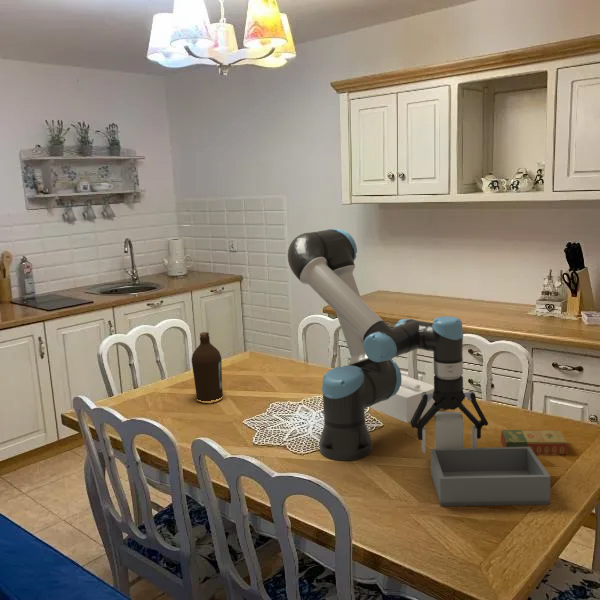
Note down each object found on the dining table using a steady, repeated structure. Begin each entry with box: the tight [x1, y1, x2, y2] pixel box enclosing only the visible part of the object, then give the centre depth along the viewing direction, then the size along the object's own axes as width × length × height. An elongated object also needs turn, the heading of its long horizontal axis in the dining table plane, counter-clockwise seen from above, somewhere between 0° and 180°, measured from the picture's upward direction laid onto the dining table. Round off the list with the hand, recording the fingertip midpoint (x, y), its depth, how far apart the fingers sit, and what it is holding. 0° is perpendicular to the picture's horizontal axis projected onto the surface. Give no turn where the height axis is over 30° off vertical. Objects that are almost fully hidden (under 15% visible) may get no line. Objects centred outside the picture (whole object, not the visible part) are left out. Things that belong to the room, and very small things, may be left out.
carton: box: [500, 429, 568, 455], centre depth 172 cm, size 8×16×4 cm, turn 81°
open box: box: [430, 446, 551, 507], centre depth 151 cm, size 25×16×7 cm, turn 86°
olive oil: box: [191, 331, 224, 401], centre depth 222 cm, size 11×11×25 cm
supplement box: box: [434, 410, 464, 449], centre depth 167 cm, size 7×7×13 cm
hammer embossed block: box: [369, 374, 435, 424], centre depth 207 cm, size 14×25×11 cm, turn 34°
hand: (449, 450), depth 168 cm, fingers open, 13 cm apart
